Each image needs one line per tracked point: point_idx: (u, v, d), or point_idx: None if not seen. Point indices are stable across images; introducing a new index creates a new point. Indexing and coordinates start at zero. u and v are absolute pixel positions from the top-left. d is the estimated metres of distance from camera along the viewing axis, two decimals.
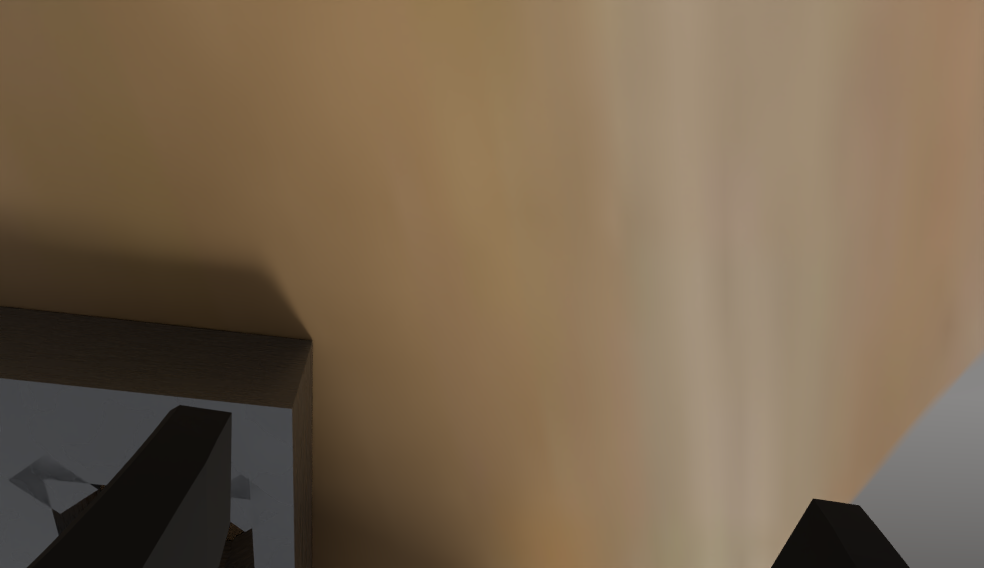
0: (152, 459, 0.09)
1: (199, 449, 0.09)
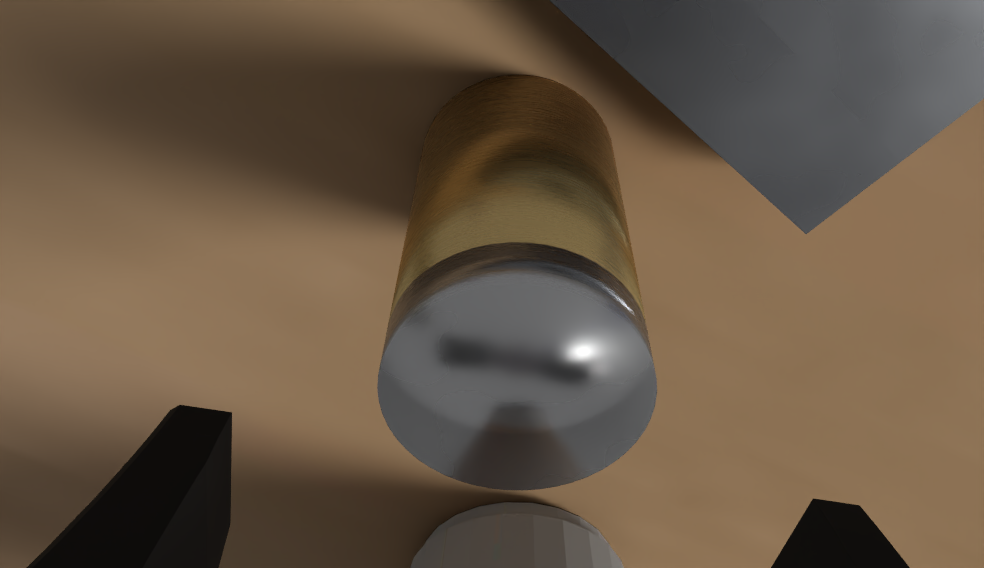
0: (152, 459, 0.09)
1: (199, 449, 0.09)
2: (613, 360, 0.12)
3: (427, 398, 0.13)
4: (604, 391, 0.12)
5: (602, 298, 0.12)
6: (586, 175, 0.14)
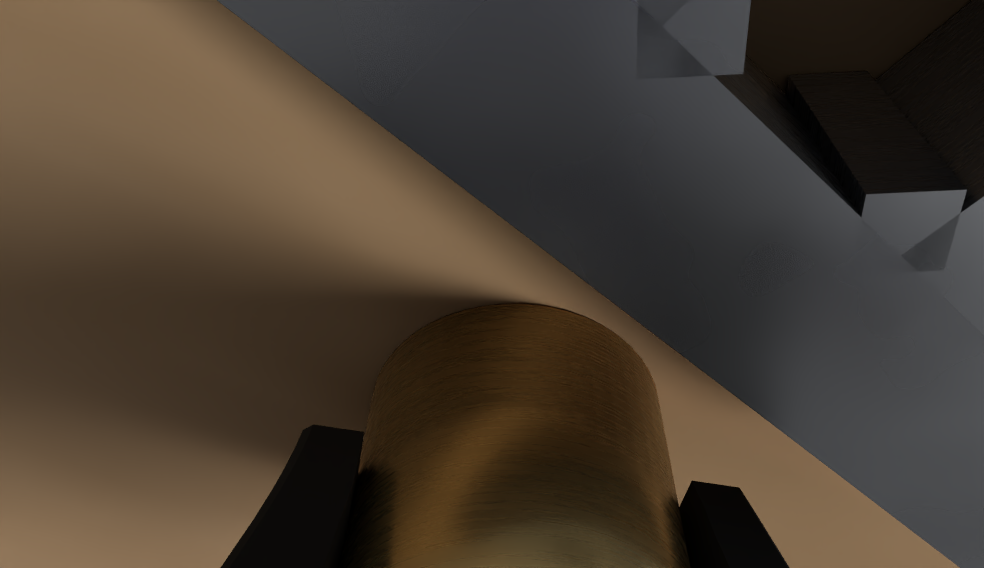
0: (301, 480, 0.09)
1: (343, 470, 0.09)
2: None
3: None
4: None
5: None
6: (630, 546, 0.08)
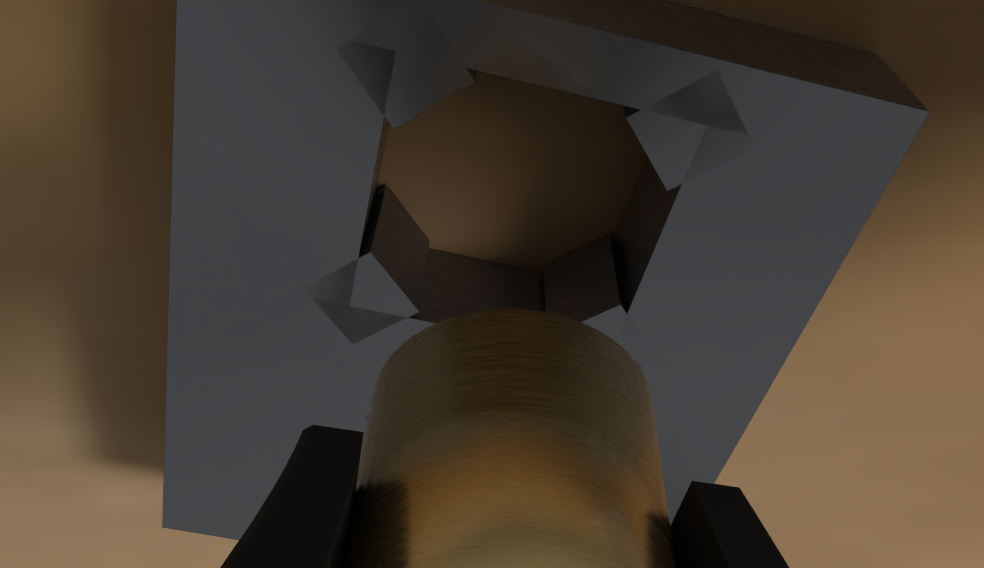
0: (301, 480, 0.09)
1: (343, 470, 0.09)
2: None
3: None
4: None
5: None
6: (618, 557, 0.09)
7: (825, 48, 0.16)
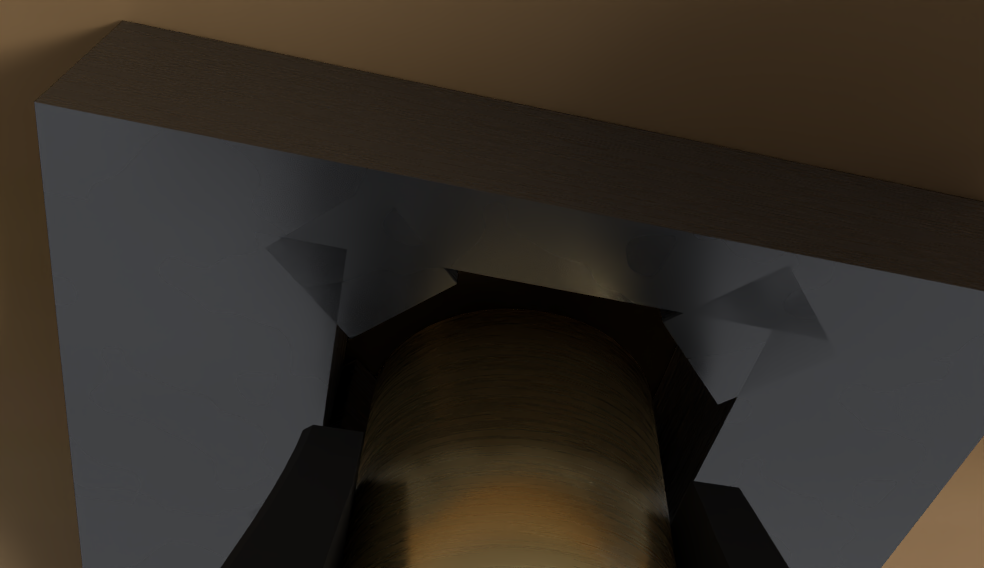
0: (301, 480, 0.09)
1: (343, 470, 0.09)
2: None
3: None
4: None
5: None
6: (617, 557, 0.09)
7: (922, 202, 0.12)
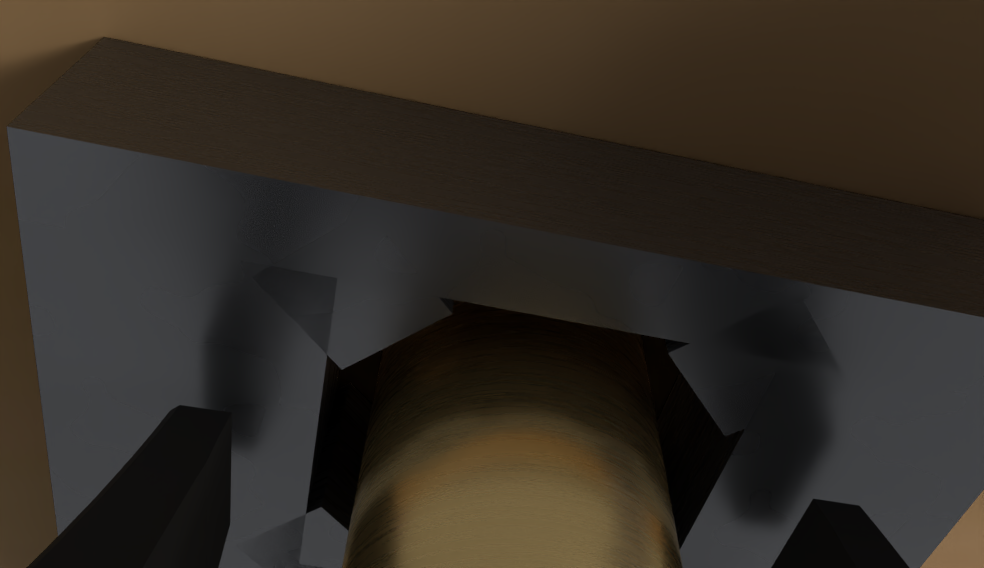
0: (152, 459, 0.09)
1: (199, 449, 0.09)
2: None
3: None
4: None
5: None
6: (612, 451, 0.10)
7: (937, 224, 0.11)
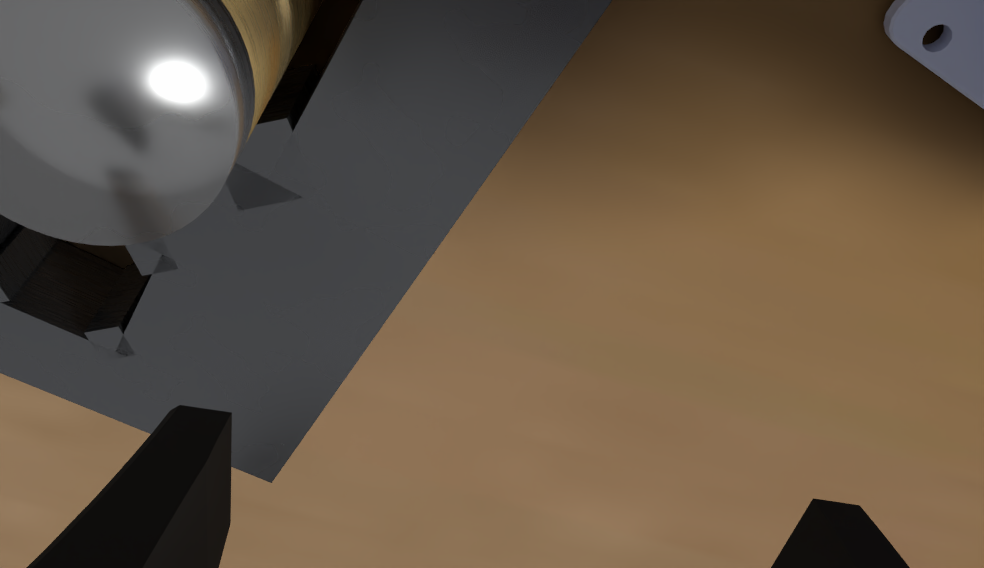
0: (152, 459, 0.09)
1: (199, 449, 0.09)
2: (186, 84, 0.10)
3: None
4: (174, 127, 0.11)
5: None
6: None
7: None
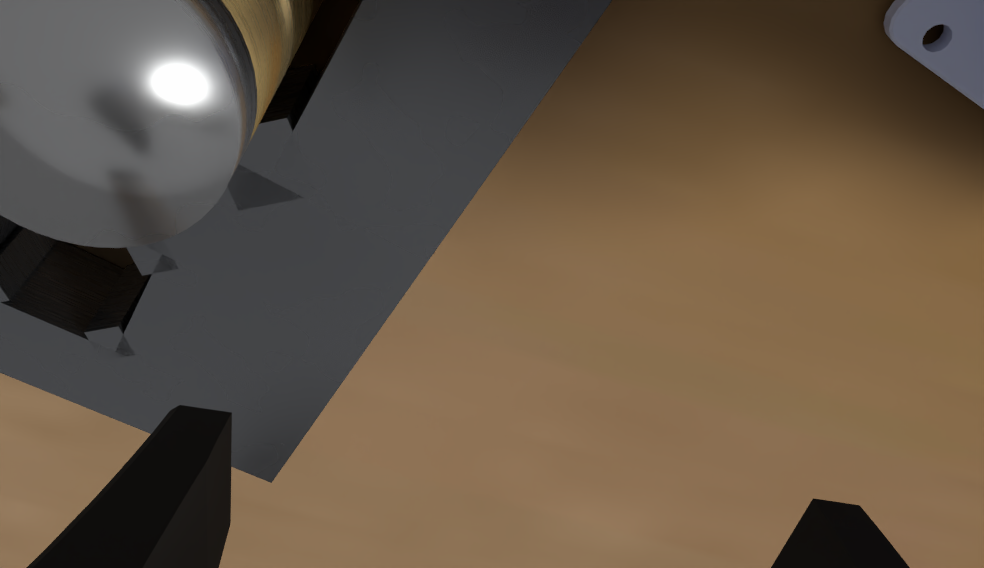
0: (152, 459, 0.09)
1: (199, 449, 0.09)
2: (188, 85, 0.10)
3: None
4: (177, 128, 0.11)
5: (185, 1, 0.10)
6: None
7: None
